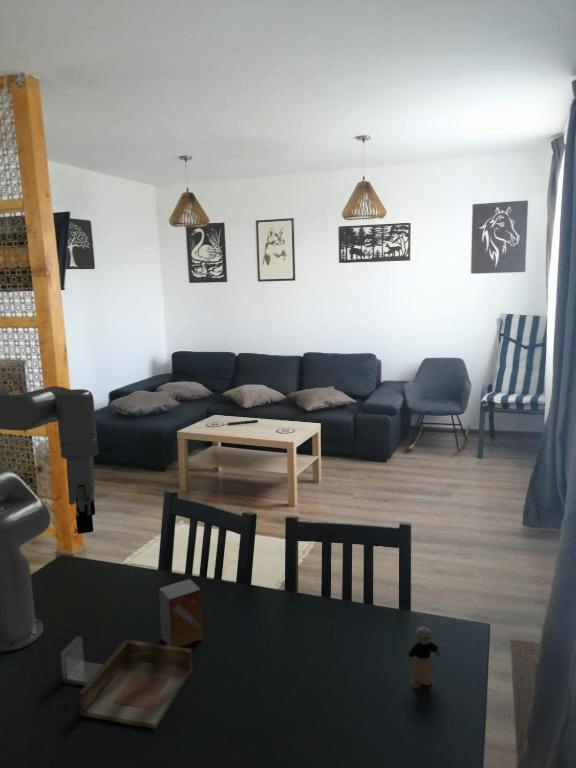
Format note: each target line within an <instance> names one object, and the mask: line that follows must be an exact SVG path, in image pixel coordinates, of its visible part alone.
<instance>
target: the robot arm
mask: <svg viewBox="0 0 576 768" xmlns="http://www.w3.org/2000/svg"><path fill="white" fill-rule="evenodd" d="M95 412H96V411H95V401H94V396H93V393H92V392H91V391H90V390H89V389H84V388H83V389H82V388H80V389H79V388H78V389H77V388H75V389H70V388H67V387H63V386H57V385H56V386H48V387H44V388H41V389H40V388H39V389H36V390H31V391H28V392H24V393H20V394H10V393H9V391H8V389H7V388H6V387H4V386H3V385H1V384H0V430H3V431H5V430H6V431H19V432H20V431H29V430H33V429H36V428H39V427H42V426H45V425H48V424H52V423H55V422H57V428H58V429H57V430H58V437H59V446H60V448H59V449H60V457H61V459H64V460H66V478H67V479H66V480H67V490H68V504H69V505H70V506H73V505H74V504H75V512H76V513H75V514H76V515H75V520H76V521H75V524H76V532H77V534H79V535H81V534H86V533H87V534H88V533H89V534H90V533H93V532H94V523H93V522H94V521H93V516H94V515H95V514H96V507H95V488H96V487H95V483H96V482H95V481H96V479H95V465H94V456H96V455H98V454H99V445H98V434H97V424H96V423H97V421H96V413H95ZM2 508H3V509H2ZM0 509H1V510H0V652H10V651H16V650H18V649H19V650H20V649H22V648H25V647H27V646H29V645H31V644H33V643H34V642H35V641H37V640H38V639H39V638H40V637H41V636H42V633H43V632H44V625H43V623H42V621H41V620H39V619H38V618H36V614H35V605H34V595H33V594H34V593H33V584H32V575H31V568H30V562H29V560H28V558H27V557H26V556H25V554H23V552H22V551H21V549H20V548H21V546H23V545H25V544H26V543H27V542H29V541H31V540H33V539H34V538H37V537H38V536H40V535H41V534H43V533H44V532H45V531H46V530H47V529H48V528H49V527H50V524H51V513H50V511H49V509H48V507H47V505H46V504H45V503H44V502H43V500H42V499H41V497H39V496H38V495H37V494H36V493H35V492H34V491H33V490H32V488H31V487H30V486H29V485H28V484H27V483H26V482H25V481H24V480H23V479H22V478H21V477H20V476H19V475H18V474H17V473H16V472H14V471H13V470H11V469H8V468H4V467H0Z"/></svg>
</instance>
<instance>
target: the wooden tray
mask: <svg viewBox="0 0 576 768" xmlns="http://www.w3.org/2000/svg"><path fill="white" fill-rule="evenodd" d="M193 664H194V662H193V649H192V648H187V647H183V646H182V647H175V646H168V645H167V644H161V643H154V642H145V641H141V640H133V639H124V640H123V642H122V643H121V644H120V645H119V646H118V647H117V648H116V649H115V650H114V652H113V653H112V654H111V655H110V657H109V658H108V659H107V660H106V661H105V662H104V663H103V666H102V667H101V668H100V669H99V670H98V672H97V673H96V674H95V675H94V676H93V677H92V678H91V680H90V681H89V682H88V683H87V684H86V685H85V686H83V688H81V690H80V691H79V693H78V696H79V697H78V698H79V704H80V715H81V716H83V717H89V718H94V719H98V720H106V721H110V722H116V723H121V724H124V725H125V724H127V725H131V726H137V727H143V728H147V729H148V728H149V729H153V730H156V728H157V727H158V726H159V724H160V723H161V721H162V719H163V718H164V716H165V714H167V712H168V710H169V708H170V707H171V706H172V703H173V702H174V700H175V698H176V697H177V696H178V694H179V693H180V691H181V689H182V688H183V686H184V684H185V683H186V682H187V680H188V678H189V677H190V675H191V674H192V672H193V670H194V667H193V666H194V665H193Z"/></svg>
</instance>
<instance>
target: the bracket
mask: <svg viewBox="0 0 576 768" xmlns="http://www.w3.org/2000/svg"><path fill="white" fill-rule="evenodd" d="M83 644H84V643H83V637H82V636H78V635H77V636H75V638H74V639H73V640H72V641H71V642H70V643H69V644H68V645H66V647H64V649H62V650H61V651H60V660H61V669H62V670H61V671H62V681H63V683H67V684H73V685H79V686H83V687H85V685H86V684H87V683H88V682H89V681H90V680H91V678H92V677H93V676H94V675H95V674H96V673H97V672H98V670H99V669H100V668H101V667H102V666H103V665H104V663H102V664H101V663H96V662H90V661H85V658H84V656H85V655H84V648H83V647H84V646H83Z"/></svg>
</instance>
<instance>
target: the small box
mask: <svg viewBox="0 0 576 768" xmlns="http://www.w3.org/2000/svg"><path fill="white" fill-rule="evenodd" d="M158 594H159V596H158V597H159V611H160V631H161V634H160V635H161V639H162V640H163V642H165V645H168V646H175V647H182V648H183V647H185V646H187V645H190V644H193V643H195V642H199V641H202V640H203V614H202V613H203V612H202V591H201V588H200V587H199V586H198V585H197V584H196V583H195V582H194V581H193V580H192V579H191V578H188V579H185V580H182V581H179V582H175V583H172V584H169V585H165V586H163V587H159V588H158Z"/></svg>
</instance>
